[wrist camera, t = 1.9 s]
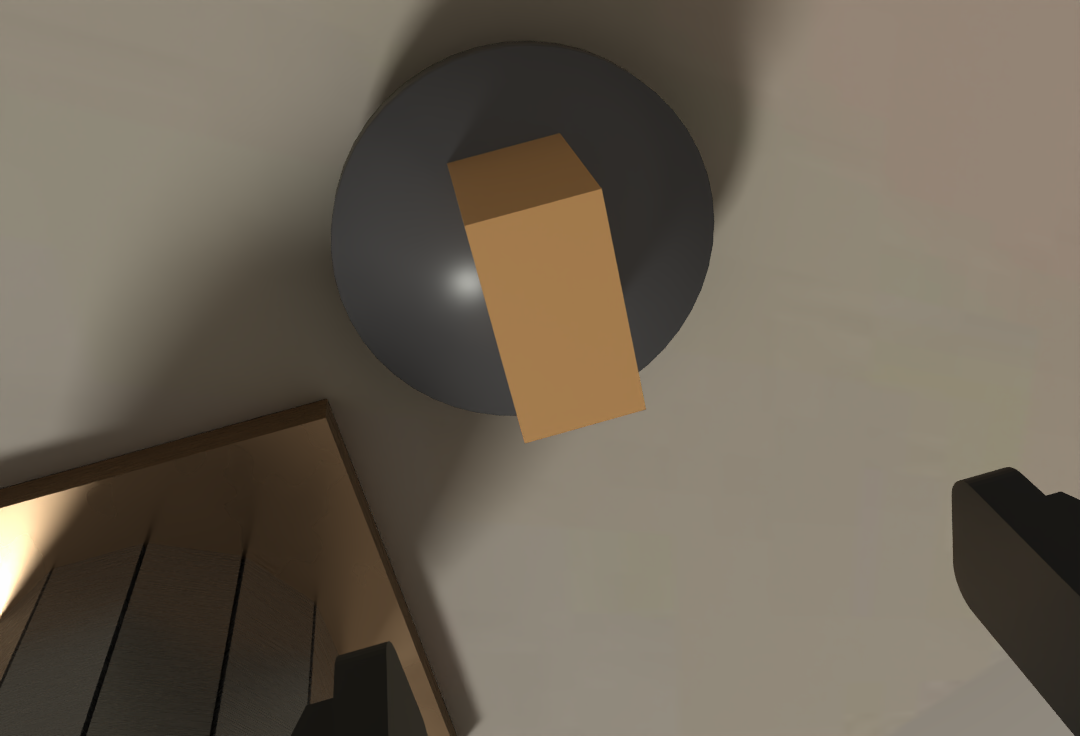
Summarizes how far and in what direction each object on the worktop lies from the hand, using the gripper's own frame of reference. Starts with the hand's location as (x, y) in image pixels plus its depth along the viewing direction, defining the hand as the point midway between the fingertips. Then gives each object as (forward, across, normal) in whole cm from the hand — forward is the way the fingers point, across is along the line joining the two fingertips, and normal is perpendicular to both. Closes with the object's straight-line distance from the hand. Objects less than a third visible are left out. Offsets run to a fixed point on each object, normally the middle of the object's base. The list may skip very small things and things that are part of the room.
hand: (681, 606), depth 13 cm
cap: (+17, 0, 0) cm, 17 cm away
